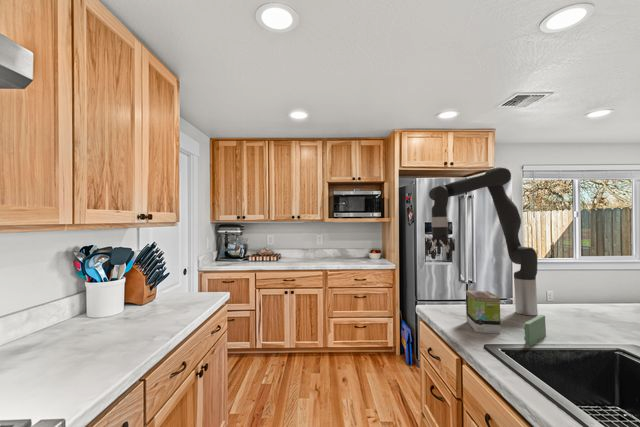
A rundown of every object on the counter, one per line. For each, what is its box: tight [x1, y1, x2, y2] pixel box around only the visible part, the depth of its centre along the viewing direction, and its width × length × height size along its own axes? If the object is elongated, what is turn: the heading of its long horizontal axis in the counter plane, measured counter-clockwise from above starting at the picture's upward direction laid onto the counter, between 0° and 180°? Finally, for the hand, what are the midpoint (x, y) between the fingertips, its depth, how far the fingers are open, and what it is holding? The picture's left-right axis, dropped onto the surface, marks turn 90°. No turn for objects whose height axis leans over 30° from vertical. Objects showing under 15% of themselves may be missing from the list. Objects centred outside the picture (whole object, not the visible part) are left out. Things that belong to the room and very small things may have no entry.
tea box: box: [465, 290, 502, 334], centre depth 134 cm, size 15×10×15 cm
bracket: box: [523, 314, 547, 347], centre depth 118 cm, size 17×2×8 cm, turn 128°
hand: (440, 259), depth 151 cm, fingers open, 7 cm apart
